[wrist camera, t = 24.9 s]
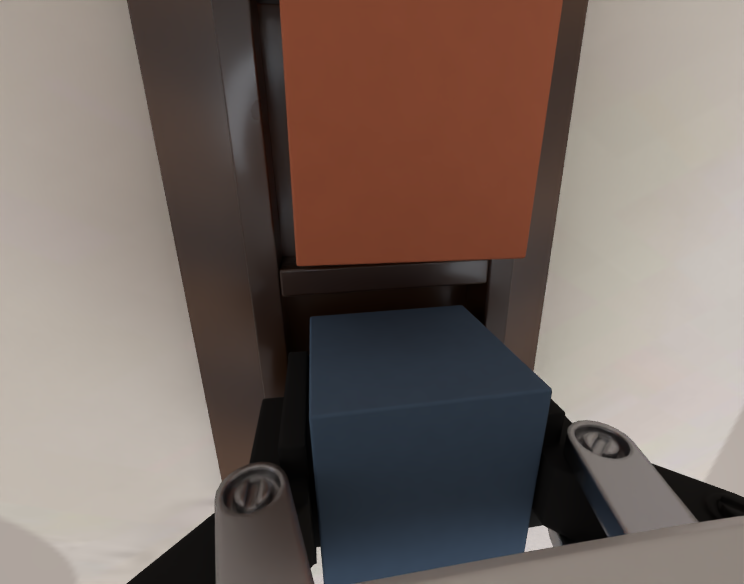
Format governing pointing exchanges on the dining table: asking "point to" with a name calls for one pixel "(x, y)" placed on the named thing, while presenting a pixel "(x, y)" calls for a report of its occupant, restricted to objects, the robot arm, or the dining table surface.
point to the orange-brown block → (415, 126)
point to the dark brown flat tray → (275, 210)
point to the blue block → (420, 442)
